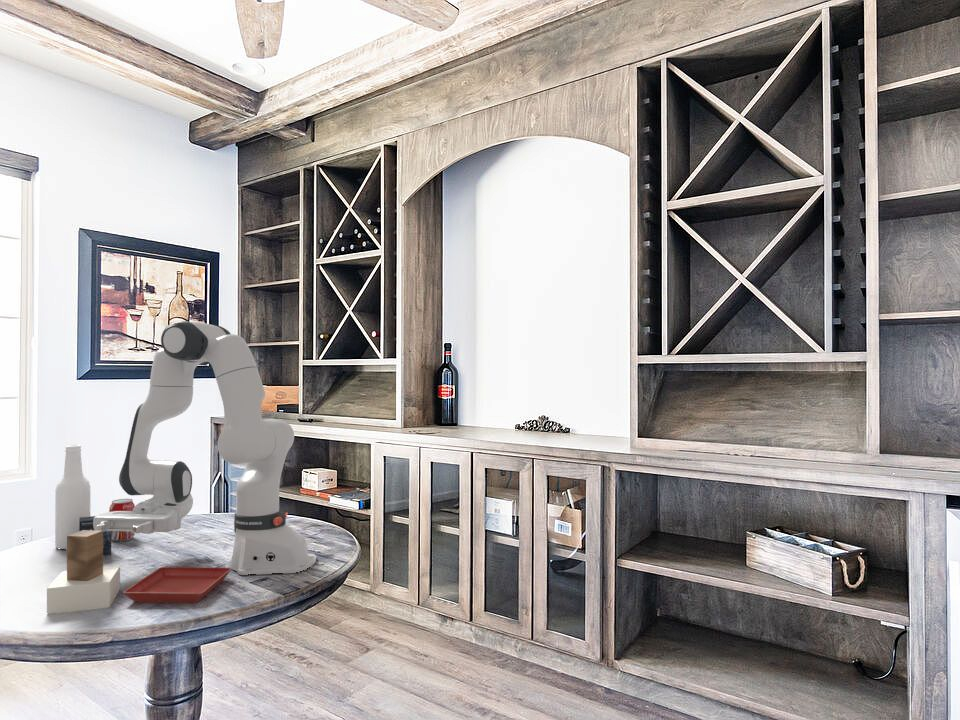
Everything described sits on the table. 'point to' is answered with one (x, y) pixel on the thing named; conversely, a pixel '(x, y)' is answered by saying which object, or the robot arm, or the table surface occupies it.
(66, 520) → the white bottle
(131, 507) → the soda can
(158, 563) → the table surface
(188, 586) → the plant saucer
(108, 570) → the plinth
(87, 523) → the box
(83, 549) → the walnut block
